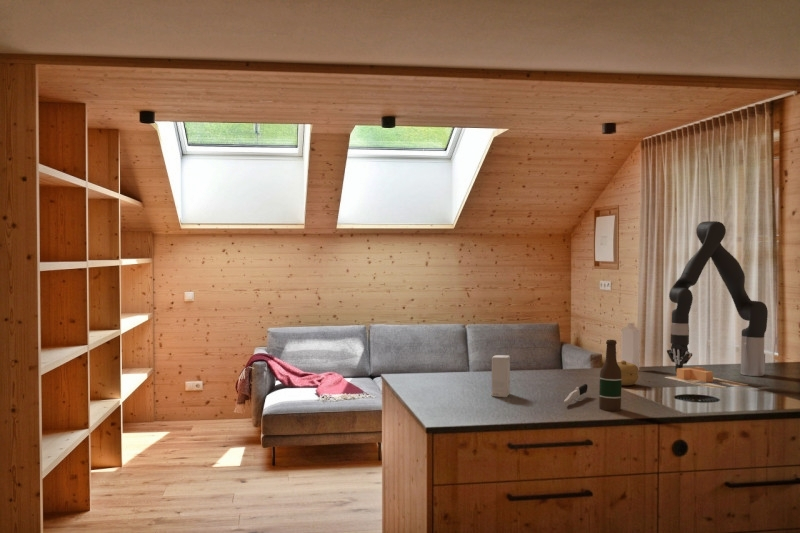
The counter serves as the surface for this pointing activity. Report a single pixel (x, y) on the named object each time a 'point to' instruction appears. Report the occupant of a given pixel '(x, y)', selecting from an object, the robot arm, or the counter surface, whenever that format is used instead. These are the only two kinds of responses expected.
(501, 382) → the skincare box
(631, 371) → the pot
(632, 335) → the milk
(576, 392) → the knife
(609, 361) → the beer bottle
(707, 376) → the t block
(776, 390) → the counter surface
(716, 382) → the push board
